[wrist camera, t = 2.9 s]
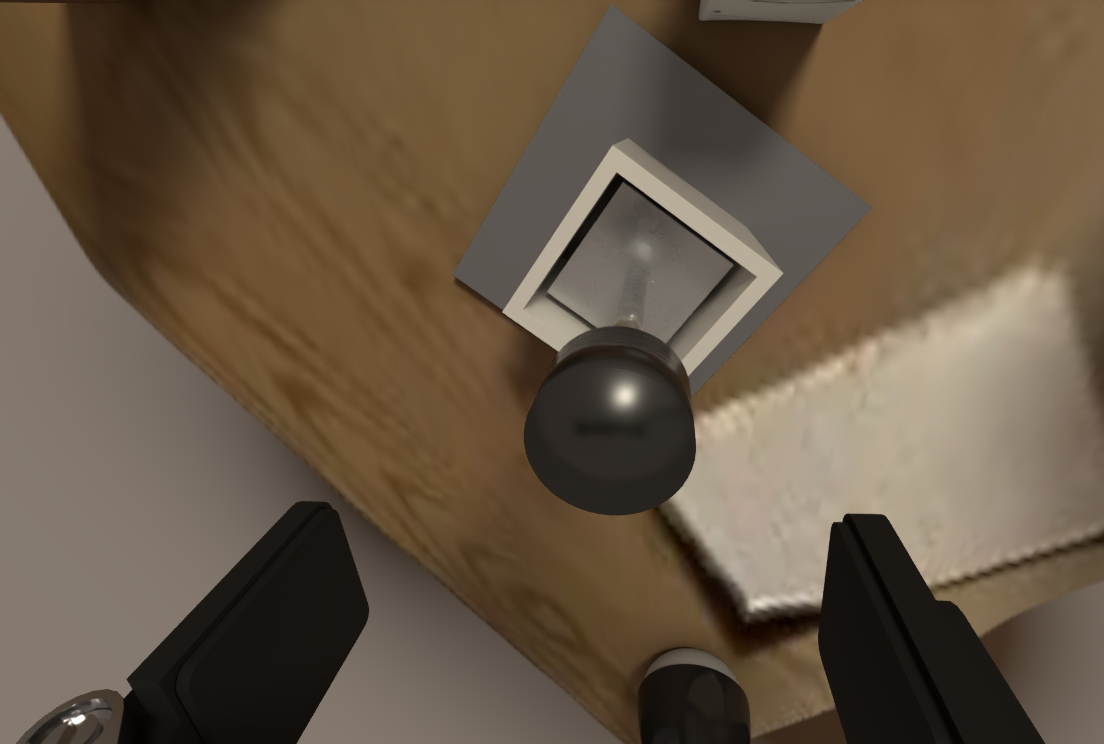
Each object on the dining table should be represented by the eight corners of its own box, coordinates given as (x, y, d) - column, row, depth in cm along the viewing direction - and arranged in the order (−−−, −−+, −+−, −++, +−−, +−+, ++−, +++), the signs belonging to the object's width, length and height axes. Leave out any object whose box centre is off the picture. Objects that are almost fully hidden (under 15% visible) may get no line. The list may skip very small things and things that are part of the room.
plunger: (732, 261, 28) (816, 431, 13) (648, 358, 31) (633, 591, 16) (624, 180, 27) (573, 256, 12) (549, 288, 31) (432, 458, 15)
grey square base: (865, 204, 34) (970, 247, 23) (665, 416, 43) (666, 526, 31) (612, 7, 33) (583, -58, 21) (457, 270, 41) (376, 329, 30)
